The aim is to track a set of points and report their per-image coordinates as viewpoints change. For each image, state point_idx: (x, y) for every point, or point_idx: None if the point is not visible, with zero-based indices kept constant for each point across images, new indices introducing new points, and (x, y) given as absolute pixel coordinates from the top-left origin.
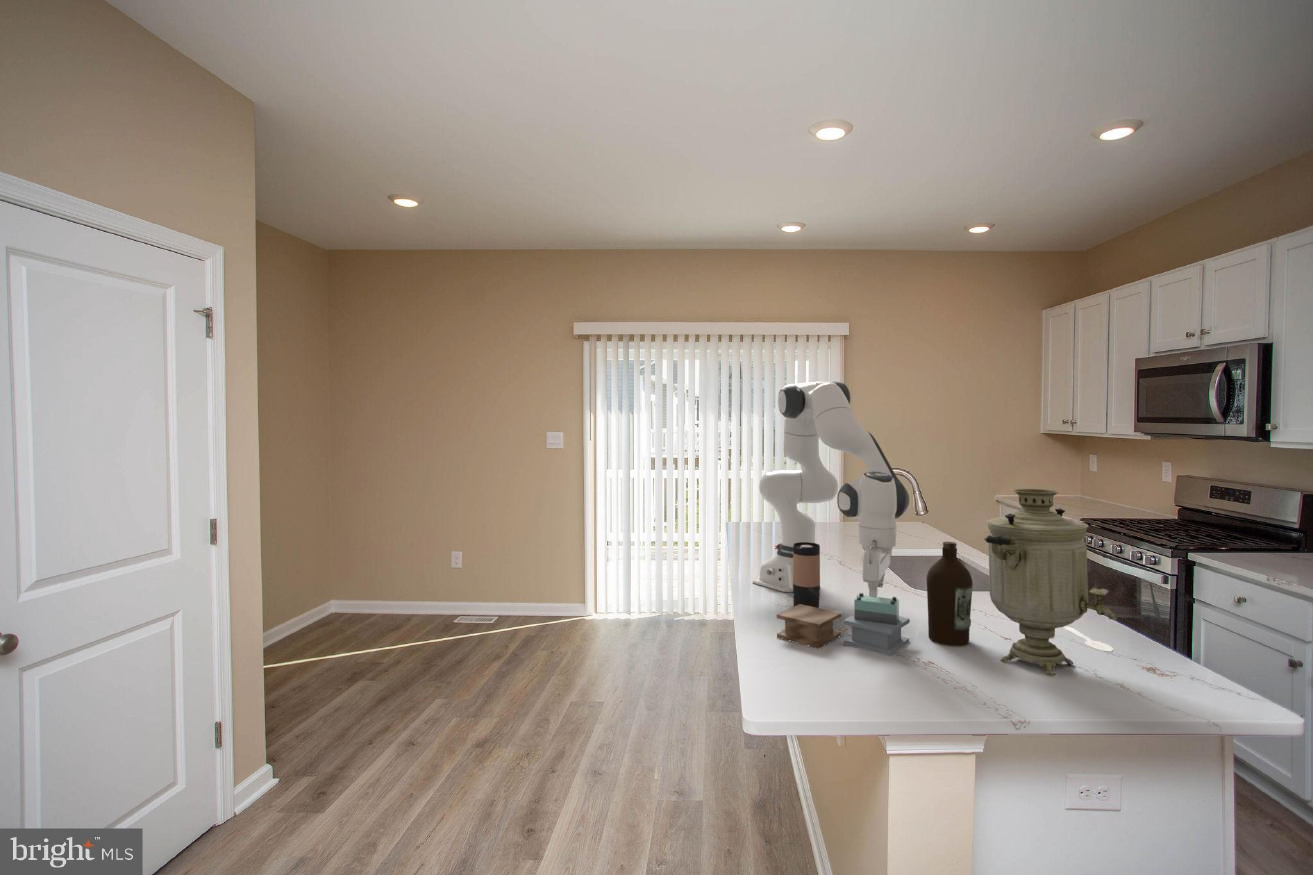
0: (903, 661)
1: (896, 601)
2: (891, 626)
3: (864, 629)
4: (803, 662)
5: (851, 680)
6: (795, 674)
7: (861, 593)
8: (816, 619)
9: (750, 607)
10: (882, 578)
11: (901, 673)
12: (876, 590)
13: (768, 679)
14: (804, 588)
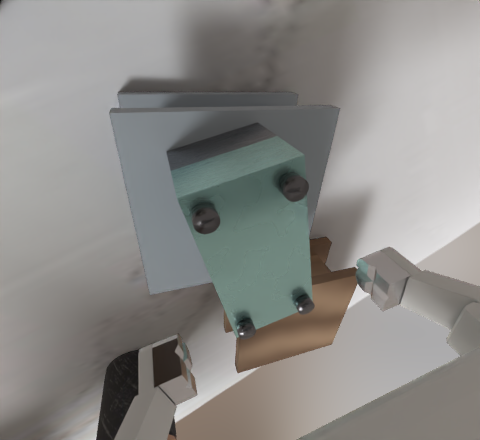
0: (318, 35)
1: (232, 188)
2: (286, 131)
3: None
4: (401, 215)
5: (468, 103)
6: (452, 195)
7: (248, 333)
8: (328, 297)
9: (192, 404)
10: (155, 403)
11: (411, 3)
12: (426, 271)
13: (474, 210)
14: (172, 430)
